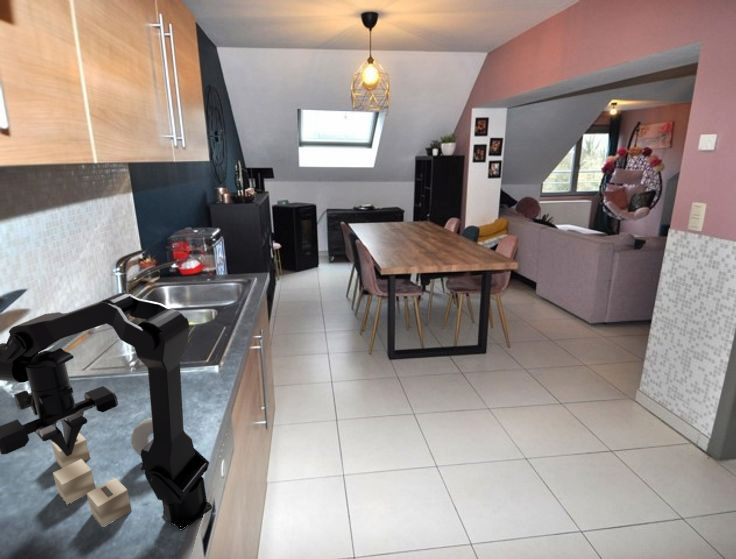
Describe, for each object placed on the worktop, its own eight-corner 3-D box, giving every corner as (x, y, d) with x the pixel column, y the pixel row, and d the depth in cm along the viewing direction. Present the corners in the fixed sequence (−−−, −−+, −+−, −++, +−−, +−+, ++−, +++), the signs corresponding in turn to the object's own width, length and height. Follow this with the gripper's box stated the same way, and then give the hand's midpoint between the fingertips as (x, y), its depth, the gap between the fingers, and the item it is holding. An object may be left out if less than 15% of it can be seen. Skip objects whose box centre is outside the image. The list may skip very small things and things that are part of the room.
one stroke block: (120, 498, 84) (115, 477, 82) (131, 511, 81) (127, 489, 80) (91, 515, 80) (86, 492, 79) (103, 528, 77) (97, 506, 76)
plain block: (86, 478, 89) (81, 458, 88) (96, 490, 86) (91, 469, 85) (58, 493, 85) (52, 472, 84) (67, 505, 82) (62, 484, 81)
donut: (185, 448, 98) (179, 410, 95) (183, 458, 95) (176, 419, 92) (137, 455, 95) (129, 417, 93) (133, 466, 92) (125, 426, 89)
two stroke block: (81, 449, 98) (77, 430, 96) (90, 458, 95) (86, 439, 93) (56, 461, 94) (51, 441, 92) (64, 471, 91) (59, 451, 90)
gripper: (88, 352, 90) (103, 416, 95) (-28, 390, 76) (-5, 463, 81) (111, 368, 84) (125, 436, 88) (-11, 413, 70) (13, 491, 74)
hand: (68, 454), depth 83 cm, fingers closed
